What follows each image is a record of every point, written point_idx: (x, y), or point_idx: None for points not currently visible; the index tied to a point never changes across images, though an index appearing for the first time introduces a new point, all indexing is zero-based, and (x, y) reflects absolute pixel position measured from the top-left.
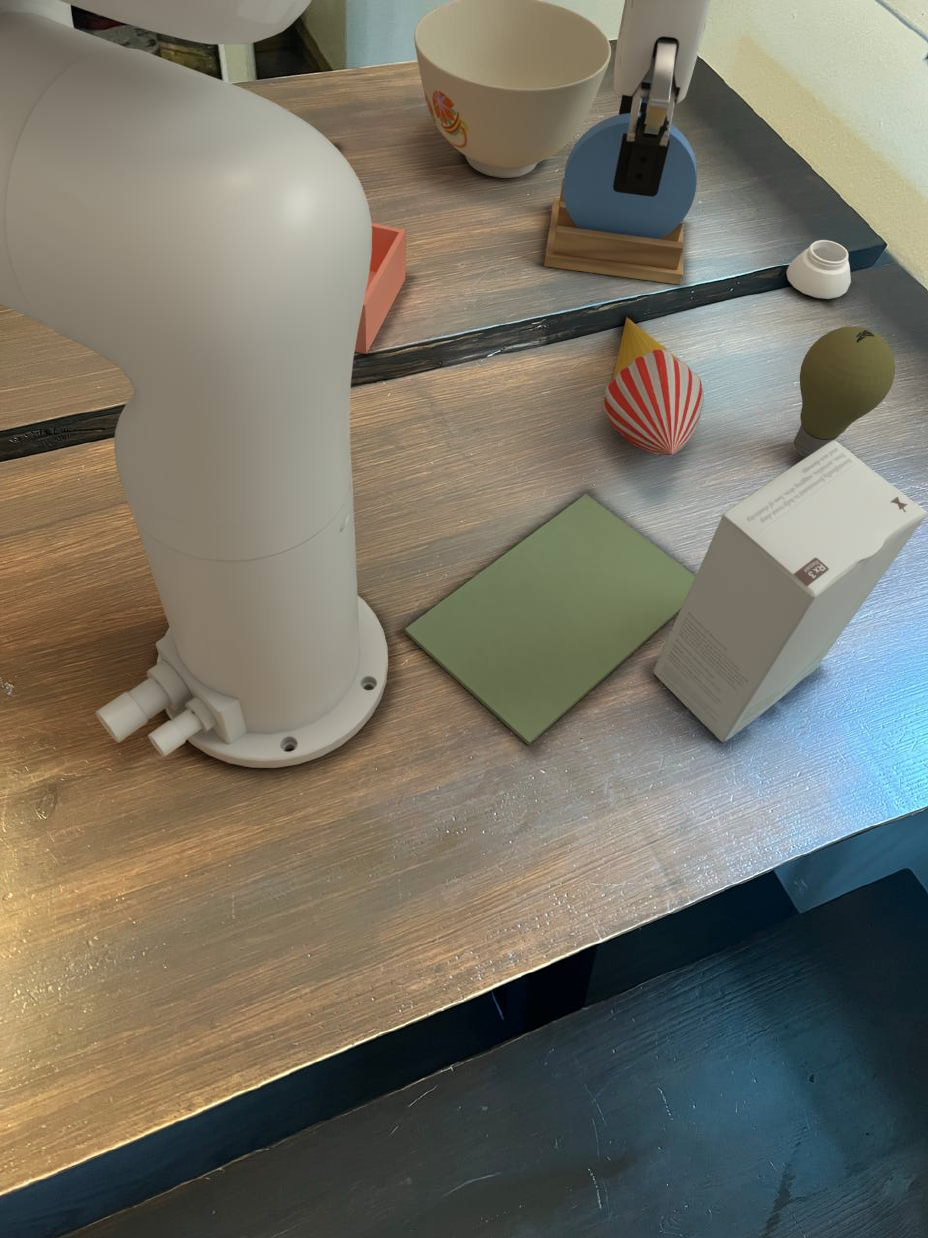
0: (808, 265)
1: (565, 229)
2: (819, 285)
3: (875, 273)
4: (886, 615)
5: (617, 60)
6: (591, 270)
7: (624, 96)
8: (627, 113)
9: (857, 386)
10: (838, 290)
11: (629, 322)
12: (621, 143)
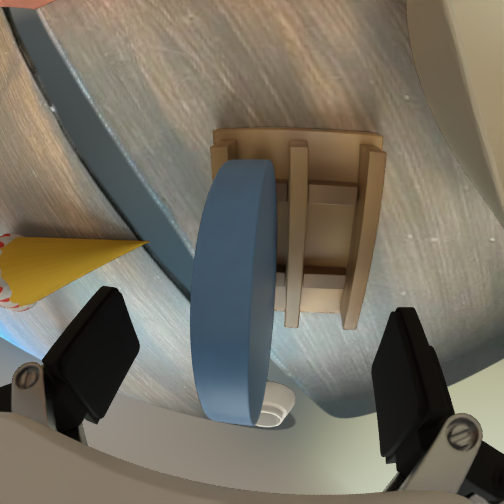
0: None
1: (217, 162)
2: None
3: (292, 419)
4: (25, 345)
5: (9, 491)
6: None
7: (404, 352)
8: (244, 378)
9: None
10: None
11: (122, 247)
12: (56, 348)
